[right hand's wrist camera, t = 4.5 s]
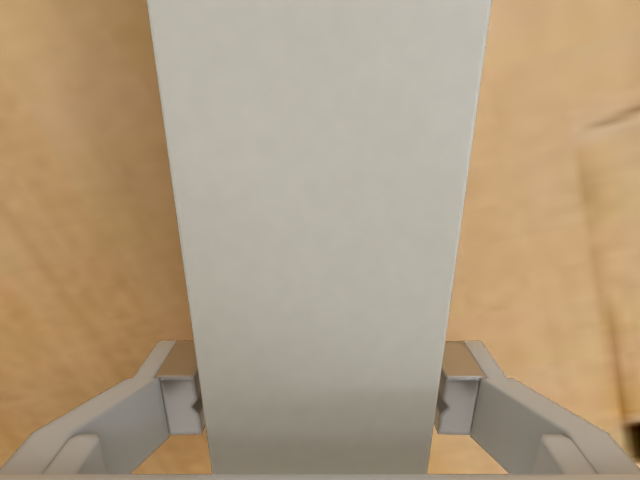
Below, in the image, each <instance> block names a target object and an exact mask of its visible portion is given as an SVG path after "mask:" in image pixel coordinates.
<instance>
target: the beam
mask: <svg viewBox="0 0 640 480" xmlns="http://www.w3.org/2000/svg"><path fill="white" fill-rule="evenodd" d="M491 4H492V0H147V7H148V14H149V21H150V29H151V36H152V43H153V50H154V57H155V65H156V72H157V79H158V86H159V93H160V101H161V108H162V115H163V122H164V129H165V136H166V144H167V151H168V158H169V165H170V172H171V180H172V187H173V194H174V201H175V208H176V216H177V223H178V230H179V237H180V244H181V252H182V259H183V266H184V273H185V280H186V288H187V295H188V302H189V309H190V316H191V324H192V331H193V338H194V345H195V352H196V359H197V367H198V374H199V381H200V388H201V395H202V403H203V410H204V417H205V424H206V431H207V439H208V446H209V453H210V460H211V467H212V474H427V470H428V463H429V455H430V448H431V441H432V433H433V426H434V419H435V412H436V404H437V397H438V390H439V382H440V375H441V368H442V361H443V353H444V346H445V339H446V331H447V324H448V317H449V310H450V302H451V295H452V288H453V280H454V273H455V266H456V259H457V251H458V244H459V237H460V229H461V222H462V215H463V208H464V200H465V193H466V186H467V178H468V171H469V164H470V157H471V149H472V142H473V135H474V127H475V120H476V113H477V106H478V98H479V91H480V84H481V76H482V69H483V62H484V55H485V47H486V40H487V33H488V25H489V18H490V11H491Z"/></svg>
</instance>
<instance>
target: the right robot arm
mask: <svg viewBox="0 0 640 480" xmlns="http://www.w3.org/2000/svg"><path fill="white" fill-rule="evenodd" d="M434 425H435V427H436V430H437V433H438V434H456V435H471V436H470V437H471V438H473V439H474V440H475V441H476V442H477V443H478V444H479V445H480V446H481V447H482V448H483V449H484V450H485V451H486V452H487V453H488V454H489V455H490V456H491V457H492V458H493V459H495V460H496V461H497V462H498V463H499V464H500V465H501V466H502V467H503V468H504V469H505V470H506V471H507V472H508V473H509V474H131V473H132V472H133V471H134V470H135V469H136V468H137V467H138V466H139V465H140V464H141V463H142V462H143V461H145V460H146V459H147V458H148V457H149V456H150V455H151V454H152V453H153V452H154V451H155V450H156V449H157V448H158V447H159V446H160V445H161V444H162V443H163V442H164V441H166V440H167V439H168V438H169V435H184V434H202V433H203V430H204V427H205V417H204V410H203V403H202V395H201V388H200V381H199V374H198V367H197V359H196V352H195V345H194V341H180V340H179V341H177V340H162V341H159V342H158V343H157V344H156V345H155V347H154V348H153V350H152V351H151V352H150V354H149V355H148V357H147V358H146V360H145V361H144V362H143V364H142V365H141V367H140V368H139V370H138V371H137V373H136V374H135V375H134V377H133V378H127V379H125V380H123V381H121V382H120V383H118V384H116V385H114V386H113V387H111V388H109V389H108V390H106V391H104V392H102V393H101V394H99V395H97V396H95V397H94V398H92V399H90V400H88V401H87V402H85V403H83V404H81V405H80V406H78V407H76V408H74V409H73V410H71V411H69V412H67V413H66V414H64V415H62V416H61V417H59V418H57V419H55V420H54V421H52V422H50V423H48V424H47V425H45V426H43V427H41V428H40V429H38V430H36V431H34V432H33V433H32V434H31V435H30V436H29V437H28V438H27V439H26V440H25V441H24V443H23V444H22V445H21V446H20V447H19V448H18V449H17V450H16V452H15V453H14V454H13V455H12V456H11V457H10V458H9V460H8V461H7V462H6V463H5V464H4V465H3V466H2V467H1V469H0V480H640V469H639V467H638V466H637V465H636V464H635V463H634V462H633V461H632V460H631V458H630V457H629V456H628V455H627V454H626V453H625V452H624V450H623V449H622V448H621V447H620V446H619V445H618V444H617V442H616V441H615V440H614V439H613V438H612V437H611V436H610V435H609V433H607V432H605V431H604V430H602V429H600V428H598V427H597V426H595V425H593V424H591V423H590V422H588V421H586V420H584V419H583V418H581V417H579V416H577V415H576V414H574V413H572V412H571V411H569V410H567V409H565V408H564V407H562V406H560V405H558V404H557V403H555V402H553V401H551V400H550V399H548V398H546V397H545V396H543V395H541V394H539V393H538V392H536V391H534V390H532V389H531V388H529V387H527V386H525V385H524V384H522V383H520V382H518V381H517V380H515V379H513V378H507V377H506V376H505V374H504V373H503V371H502V370H501V368H500V367H499V366H498V364H497V363H496V361H495V360H494V358H493V357H492V356H491V354H490V353H489V351H488V350H487V348H486V347H485V346H484V344H483V343H482V342H481V341H479V340H469V341H445V346H444V353H443V361H442V368H441V375H440V382H439V390H438V397H437V404H436V412H435V419H434Z"/></svg>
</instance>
